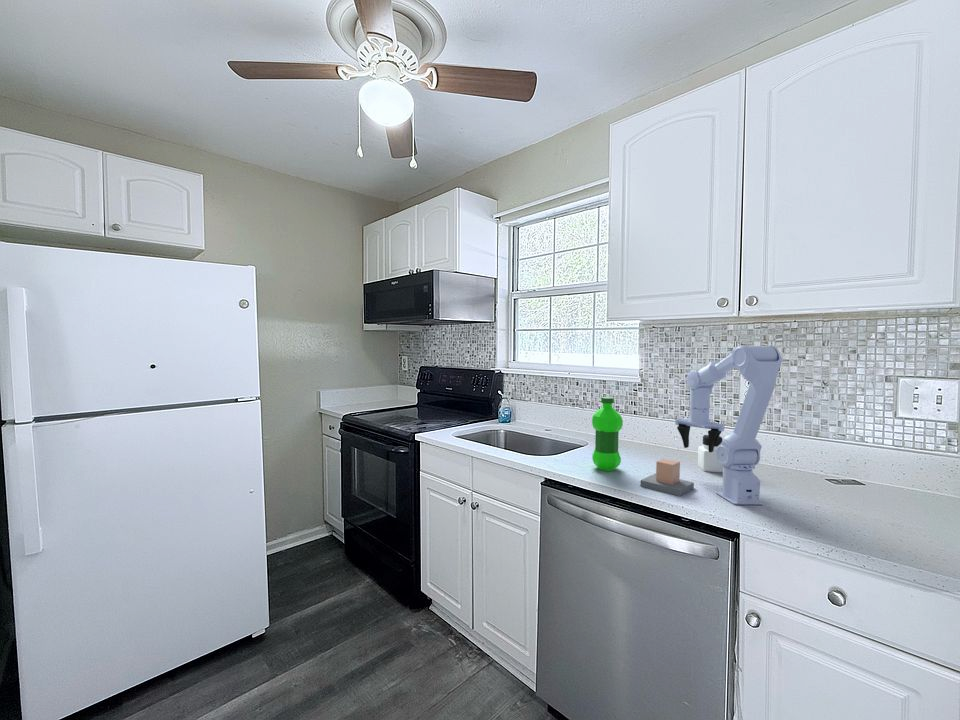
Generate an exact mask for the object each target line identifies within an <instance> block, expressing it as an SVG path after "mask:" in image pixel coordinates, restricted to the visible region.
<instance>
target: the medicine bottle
mask: <svg viewBox="0 0 960 720" xmlns="http://www.w3.org/2000/svg"><path fill="white" fill-rule="evenodd" d="M722 440H723V437H722V436H720V435H719V437H718V439H717V441H716V443H715V446H714V450H713V452H709V436H708V433H707V434H704V435H703V436H702V445H701V446H698V450H697V451H698V452H697V453H698V454H697V456H698V457H697V466H698V467H699V468H700V469H701V470H702V471H703V472H711V473H723V466H722V465H721V464H720V463H719V461H718V459H717V456H716V450H717V447H718V446H719V445H720V444H721V443H722Z"/></svg>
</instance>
